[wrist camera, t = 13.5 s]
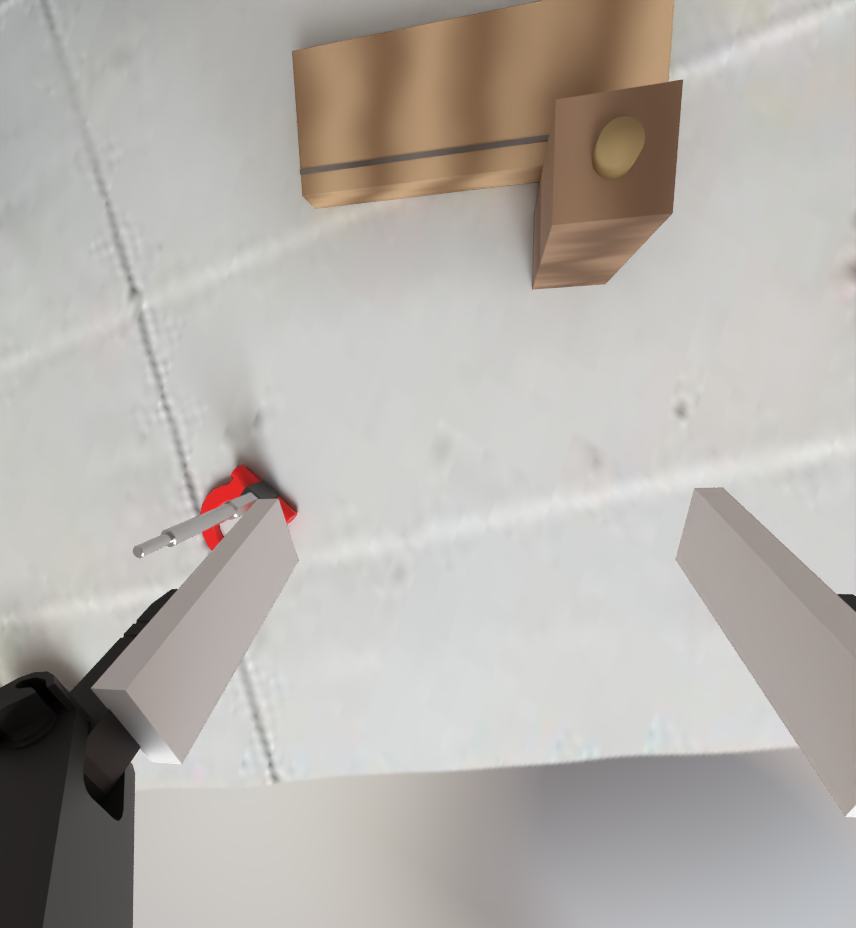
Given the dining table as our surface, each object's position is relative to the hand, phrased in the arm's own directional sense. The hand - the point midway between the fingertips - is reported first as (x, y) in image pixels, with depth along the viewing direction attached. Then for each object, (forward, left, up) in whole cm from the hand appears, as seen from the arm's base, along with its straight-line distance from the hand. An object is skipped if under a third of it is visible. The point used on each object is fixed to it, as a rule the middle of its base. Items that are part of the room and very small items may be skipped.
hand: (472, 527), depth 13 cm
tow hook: (-4, -23, -19) cm, 30 cm away
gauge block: (-10, +11, -19) cm, 24 cm away
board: (-22, +9, -19) cm, 30 cm away
